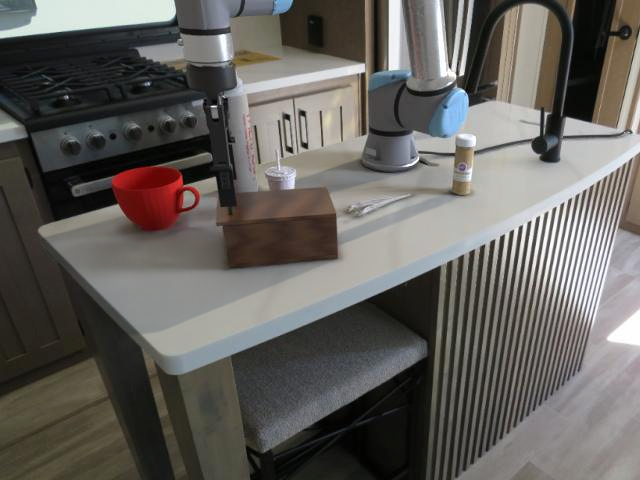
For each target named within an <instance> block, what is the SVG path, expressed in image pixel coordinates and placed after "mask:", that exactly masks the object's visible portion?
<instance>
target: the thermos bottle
mask: <svg viewBox="0 0 640 480" xmlns="http://www.w3.org/2000/svg"><path fill="white" fill-rule="evenodd" d="M232 63H233V64H234V65H235V69H236V63H235V62H232ZM236 77H237V86H236V88H234V89H232V90H229V91H225V92H224V96H225V98H228V100H229V128H230V132H231V137H235V143H229V144H232V147H233V154H234V161H235V169H236V176H237V180H234V186H235V193H241V192H256V191H259V185H258V175H257V167H256V160H255V159H256V158H255V151H254V142H253V134H252V126H251V117H250V108H249V100H248V92H247V90H246V89H244V87H243V86H244V83H243V80H242V79H241V78H240V77H238V72H237V70H236Z"/></svg>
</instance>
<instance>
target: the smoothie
mask: <svg viewBox="0 0 640 480" xmlns="http://www.w3.org/2000/svg"><path fill="white" fill-rule="evenodd" d="M275 160H276V165H275V166H271V167H268V168H267V169H265V170H264V178H265V179H266V180H267V185H268V188H269V191H271V190H286V189H295V184H296V182H295V180H296V179H295V178H296V177H297V171H296V170H297V169H295V168H294V167H292V166H287V165H281V163H280V155H279V149H277V148H275Z"/></svg>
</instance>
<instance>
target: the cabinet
mask: <svg viewBox="0 0 640 480" xmlns="http://www.w3.org/2000/svg"><path fill="white" fill-rule="evenodd" d="M221 227H222V234H223V241H224V247H225V253H226V259H227V265H228V269H238V268H239V269H243V268H251V267H262V266H272V265H283V264H293V263H295V264H296V263H305V262H317V261H326V260H336V259H339V247H338V243H339V242H338V241H339V240H338V219H337V217H331V218H318V219H305V220H293V221H280V222H267V223H254V224H241V225H229V226H221Z"/></svg>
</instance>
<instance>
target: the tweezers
mask: <svg viewBox="0 0 640 480" xmlns="http://www.w3.org/2000/svg"><path fill="white" fill-rule="evenodd" d="M409 196H412V193H409V194H404V195H403V194H402V195H398V196H391V197H383V198H375V199H366V200H362V201H358V202H354V203H352V204H349V205H348V206H347V208H346V210H347V213H349V214H350V212H351V211H353V210H355V209H360V208H363V209H362V210H360V211H355V218H359V217H361V216H363V215H365V214H367V213H368V212H372V211H374V210H375V209H378V208H380V207H383V206H386V205H388V204H390V203H393V202H396V201H399V200H403V199H406V198H407V197H409Z"/></svg>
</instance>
